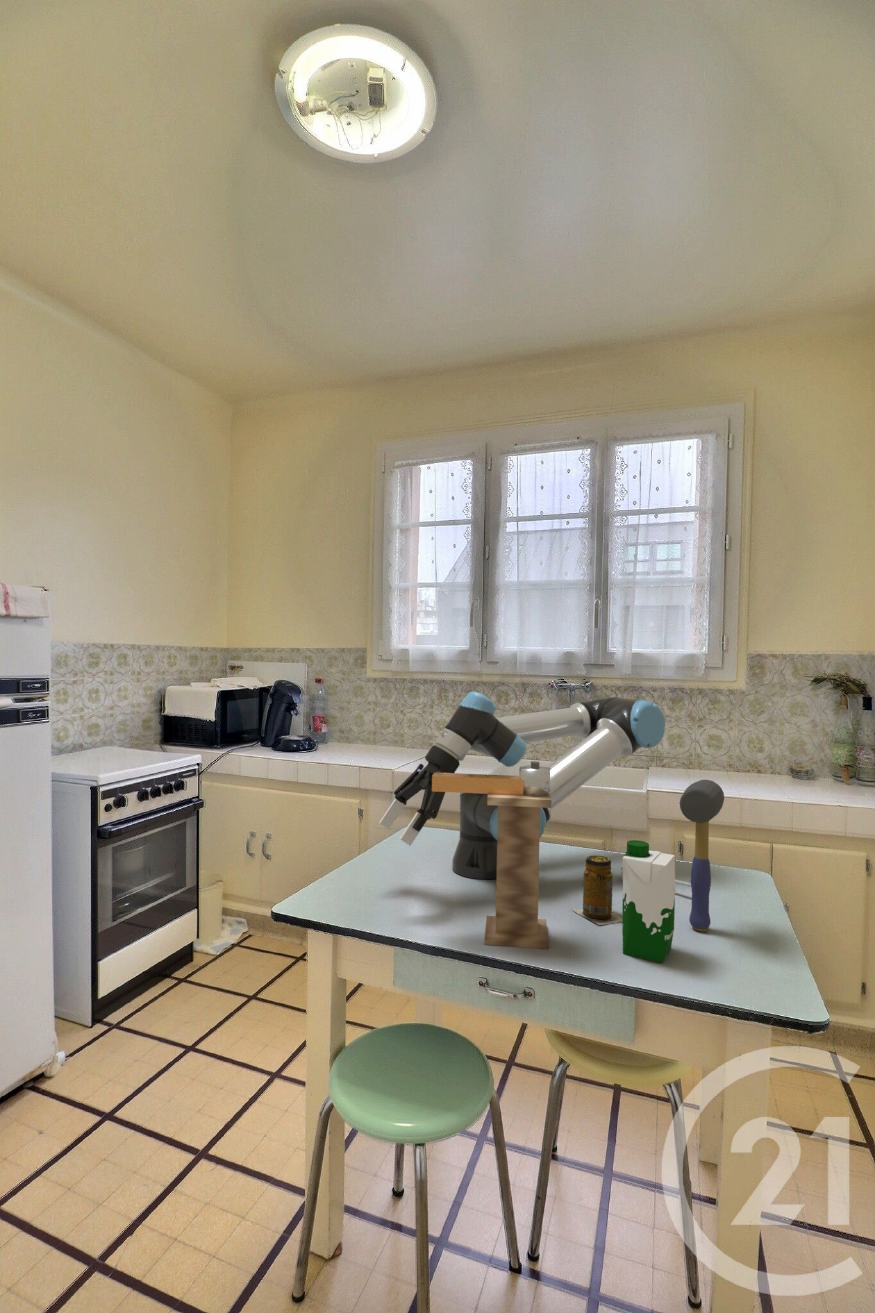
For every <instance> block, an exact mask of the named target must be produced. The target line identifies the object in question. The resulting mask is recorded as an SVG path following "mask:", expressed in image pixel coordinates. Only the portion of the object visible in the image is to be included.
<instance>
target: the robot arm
mask: <svg viewBox="0 0 875 1313" xmlns="http://www.w3.org/2000/svg"><path fill="white" fill-rule="evenodd" d="M496 709H497V706H496V704H495V703H494V702H493V700H491V699H490V698H489V697H488V696H486V695H484V694H483V693H481V692H478V691H470V692H468V693H467V695H466V696H464V698H463V700H462V701H461V702H460V703H459V704H458V707H457V708H456V710H455V711H454V713H453V715H452V716H451V718H450V719H449V721H448V723H447V724H446V725H445V727H444V728H443V729H442V730H440V732H439V736H438V737H437V738H436V740H435V742H434V743H435V745H432V746H431V747H430V749H429V750H428V752H427V753H426V754H425V757H424V760H426V762H427V764H426V766H425V765H424V764H422V763H419V764H418V766H417V767H416V769H415V770H414V771H413V772H412V773H411V774H410V775H408V777H407V778H406V779H405V780H404V781H403V782H402V783H401V784H400V785H399V786H397V788H396V789H395V790H394V791H393V795H394V800H393V801H392V803H391V804H390V805H389V807H388V809H387V810H386V812H385V813H384V815H382V818H381V819H380V820H379V822H378V823H379V824H380V825H382V826H383V827H384V828H386V829H387V830H390V829H391V827H392V826H393V825H394V823H395V821H396V820H397V818H398V817H399V815H400V814H401V812H402V811H403V809H404V807H405V806H406V805H407V802H408V801H409V800H410V799H412V798H413V797H414V796H415V795H417V794H418V793H419V792H421V791H424V792H423V796H422V799H421V800H422V802H421V806H420V808H419V809H417V810H416V813H415V814H414V816H413V817H412V819H411V821H410V822H409V823H408V825H407V826H406V828H405V830H404V831H403V833H402V834H401V835H400V837H399V840H401V841H402V842H403V843H405V844H406V845H408V846H409V847H411V845H412V844H413V843H414V841H415V840H416V839H417V837H418V836H419V833H420V832H421V830H422V829H423V827H424V825H425V824H426V823H427V822H428V821H429V820H431V819H433V820H435V819H436V818H437V817H438V815H439V811H440V808H441V805H442V803H443V800H444V797H445V795H446V792H436V791H432V776H433V774H434V773H435V772H437V773H456V772H457V770H458V768H459V766H460V762H462V761H464V759H465V758H466V756H467V754H468V753H469V752H470V751H474V752H477V753H480V754H482V755H483V754H484V755H487V756H490V757H493V758H494V759H495V760H497V762H498V763H501V764H502V765H503V766H505V767H507V768H510V767H511V768H512V767H514V766H516V765H517V764H518V763H519V762H520V761H521V760H522V759H523V757H524V756H525V754H526V751H527V745H526V744H527V743H534V742H540V741H547V740H553V739H560V738H567V737H574V736H576V738H579V739H582V740H581V741H580V742H577V743H576V744H575V745H574V746H573V747H571V749H569V750H567V751H566V752H565V753H564V754H562V755H561V756H560V757H558V758H556V759H555V760H554V761H553V762H552V763H551V764H550V765H548V766H547V767H548V768H550V796H551V808H541V807H540V836H539V840H540V839H541V838H542V836H543V834H544V833H545V830H544V829H545V828H546V826H547V822H549V821H550V819H551V818H552V817H551V816H552V810H553V809H554V808H555V807H557V806H558V805H559V804H561V803H562V802H563V801H564V800H566V799H567V798H568V797H569V796H571V795H572V794H574V793H575V792H576V791H577V790H578V789H580V788H581V787H582V786H584V784H586V783H588V782H589V781H590V780H591V779H592V778H593V777H595V776H596V775H597V774H598V773H600V772H601V771H602V770H604V769H605V768H606V767H607V766H609V765H610V764H612V763H613V761H615V760H616V759H618V758H619V757H621V758H629V757H630V756H631V755H633V754H634V753H635V752H636V751H638V750H639V749H640V748H644V749H649V748H650V749H651V748H654V747H657V745H659V744H660V743H661V741H662V740H663V738H664V735H665V732H666V729H665V728H666V718H665V715H664V713H663V711H662V709H661V708H660V706H659V705H657V704H656V703H655V702H653V701H648V700H645V699H632V698H631V699H630V698H625V697H624V698H622V697H615V696H609V697H602V698H598V699H592V700H587V701H582V702H575V703H573V704H572V705H571V706H570V707H566V708H560V709H559V708H557V709H552V710H545V711H537V712H530V713H521V714H515V715H514V714H513V715H508V716H501V717H496V716H495V715H494V714H495V712H496ZM487 797H488V794H482V793H459V798H460V800H459V802H460V803H459V806H460V807H459V838H458V839H459V840H458V843H457V845H456V848H455V851H454V854H453V857H452V864H451V866H452V867H451V868H452V871H453V872H454V873H455V874H457V875H460V876H462V877H464V878H468V879H476V880H494V879H496V880H497V833H498V805H487Z"/></svg>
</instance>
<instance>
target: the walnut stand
mask: <svg viewBox="0 0 875 1313" xmlns="http://www.w3.org/2000/svg"><path fill="white" fill-rule="evenodd" d="M487 805H498V833H497V878H496V883H495V884H496V890H495V891H496V892H495V893H496V894H495V915H486V921H485V930H484V945H488V946H490V945H491V946H502V947H517V948H518V947H521V948H530V947H531V948H530V949H532V948H533V949H547V950H548V949H549V934H548V925H547V919H546V918H544V919H543V918H539V884H540V883H539V882H540V881H539V879H540V878H539V876H540V874H539V873H540V872H539V871H540V839H539V836H540V807H541V808H551V796H550V795H549V796H546V797H529V796H524V795H504V794H488V797H487Z"/></svg>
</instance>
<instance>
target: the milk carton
mask: <svg viewBox="0 0 875 1313" xmlns="http://www.w3.org/2000/svg"><path fill="white" fill-rule="evenodd" d="M675 861H676V856H675V854H670V853H669V854H668V853H664V852H662V851H659V850H655V851H654V850H650V844H649V843H648V842H646V841H644V840H636V839H633V840H632V839H631V840H627V842H626V851H625V854H624V855H623V857H622V867H623V878H622V910H621V911H622V914H621V915H622V916H621V917H622V921H621V923H622V924H621V925H622V926H621V927H622V928H621V929H622V931H621V932H622V933H621V934H622V954H624V955H628V956H630V957H631V956H632V957H635V958H639V959H643V960H647V961H650V962H654V963H658V964H663V963H664V961H665V959H666V958H667V957H668V954H669V952H670V951H671V949H672V943H673V938H674V932H675V913H676V912H675V909H676V907H675V906H676V902H675V900H676V883H675V880H676V862H675Z"/></svg>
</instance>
